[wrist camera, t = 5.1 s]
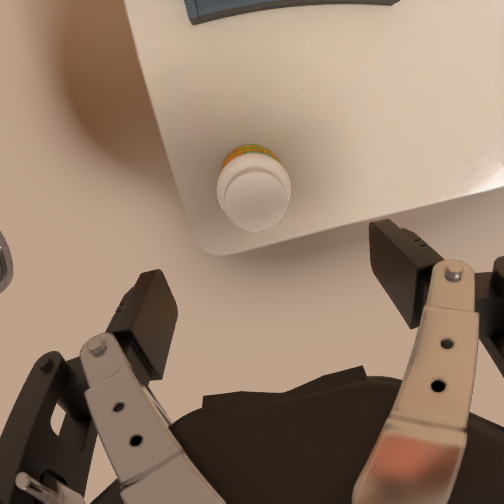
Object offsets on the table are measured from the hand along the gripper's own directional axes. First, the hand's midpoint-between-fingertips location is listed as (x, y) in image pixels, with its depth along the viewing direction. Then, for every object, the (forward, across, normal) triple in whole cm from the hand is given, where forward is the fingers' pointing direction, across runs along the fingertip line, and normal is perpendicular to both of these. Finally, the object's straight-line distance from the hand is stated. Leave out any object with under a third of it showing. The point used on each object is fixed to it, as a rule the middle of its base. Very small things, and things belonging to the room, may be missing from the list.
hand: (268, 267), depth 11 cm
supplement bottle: (+18, 0, 0) cm, 18 cm away
